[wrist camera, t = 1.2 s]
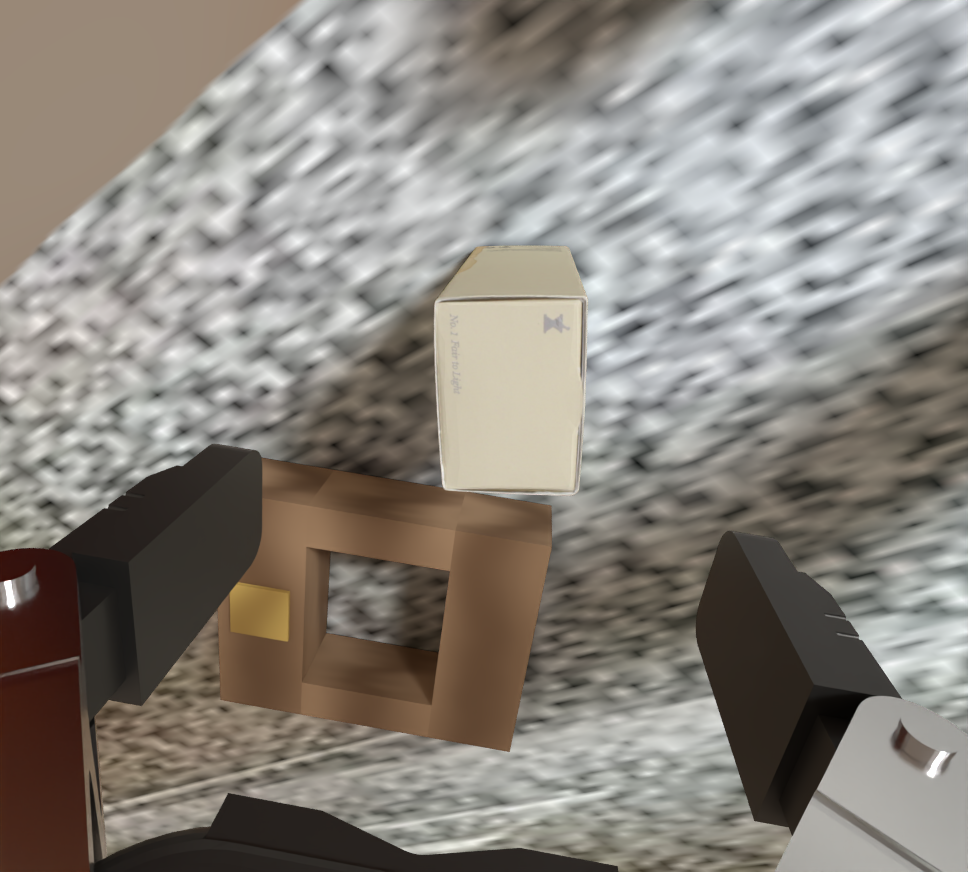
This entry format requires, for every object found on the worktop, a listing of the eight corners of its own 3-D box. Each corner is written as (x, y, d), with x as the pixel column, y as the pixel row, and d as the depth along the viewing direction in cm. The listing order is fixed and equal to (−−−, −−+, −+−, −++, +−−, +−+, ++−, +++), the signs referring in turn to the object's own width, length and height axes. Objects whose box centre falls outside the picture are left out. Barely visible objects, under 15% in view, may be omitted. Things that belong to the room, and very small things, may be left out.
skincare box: (474, 245, 28) (426, 286, 17) (574, 244, 28) (591, 287, 17) (476, 380, 31) (434, 494, 20) (568, 381, 30) (580, 499, 19)
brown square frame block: (551, 505, 33) (551, 549, 29) (513, 696, 38) (509, 754, 34) (250, 456, 33) (211, 491, 30) (252, 649, 38) (218, 702, 34)
